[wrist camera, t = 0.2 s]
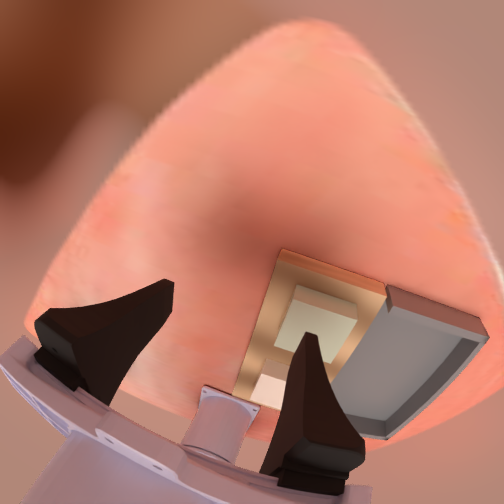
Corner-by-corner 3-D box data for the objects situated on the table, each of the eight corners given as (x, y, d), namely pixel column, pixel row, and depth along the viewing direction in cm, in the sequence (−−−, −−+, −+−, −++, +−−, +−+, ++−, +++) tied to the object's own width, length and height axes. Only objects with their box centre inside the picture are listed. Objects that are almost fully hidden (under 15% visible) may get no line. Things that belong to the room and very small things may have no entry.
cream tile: (297, 399, 27) (294, 413, 25) (254, 385, 28) (249, 399, 26) (315, 373, 25) (312, 389, 23) (266, 358, 25) (261, 373, 24)
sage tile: (331, 347, 23) (330, 363, 21) (278, 330, 23) (273, 345, 22) (356, 304, 20) (357, 320, 19) (296, 284, 21) (293, 299, 19)
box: (386, 422, 29) (386, 440, 26) (308, 405, 30) (305, 425, 28) (479, 318, 20) (489, 337, 17) (387, 284, 21) (393, 305, 18)
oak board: (305, 404, 30) (303, 417, 28) (236, 382, 31) (231, 394, 30) (383, 283, 21) (387, 296, 19) (281, 248, 22) (277, 259, 21)
